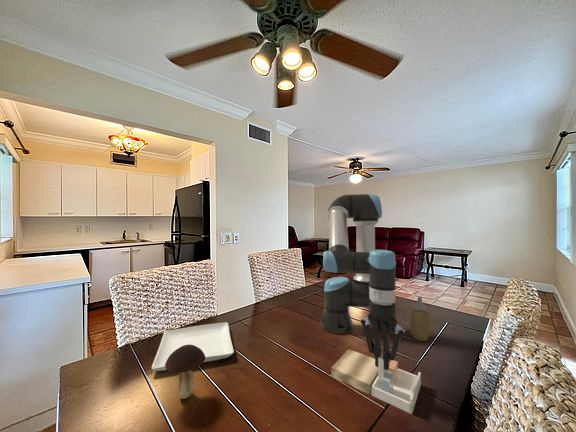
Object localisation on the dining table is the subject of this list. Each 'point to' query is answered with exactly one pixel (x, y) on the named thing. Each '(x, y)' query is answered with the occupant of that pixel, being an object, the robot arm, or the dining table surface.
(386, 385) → the tile slate
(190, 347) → the decorative mushroom
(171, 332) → the square plate
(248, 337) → the dining table surface
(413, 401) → the tray
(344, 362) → the beige flat block
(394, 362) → the tile terracotta
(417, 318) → the squeeze bottle
